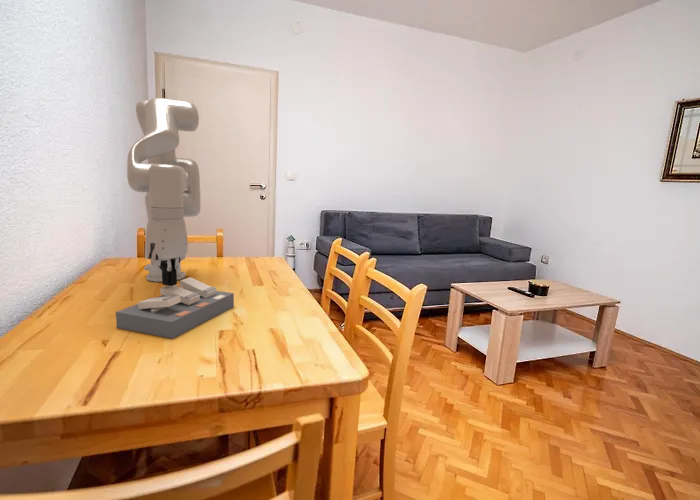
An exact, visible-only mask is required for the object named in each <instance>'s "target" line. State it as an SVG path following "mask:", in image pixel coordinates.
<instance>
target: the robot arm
mask: <svg viewBox="0 0 700 500" xmlns="http://www.w3.org/2000/svg"><path fill="white" fill-rule="evenodd" d="M135 113H136V118H137V121H138V123H139V124H138V125H139V127H140V128H141V130H142V133H143V135H144V136H142V137H141V138H139V139H138V140H136V142H135V143H134V144H133V145H132V146H131V147H130V149H129V151H128V154H127V161H126V162H127V164H126V165H127V166H126V167H127V169H126V170H127V171H126V176H127V183H128V185H129V187H130V188H131V189H132V190H133V191H135V192H138V193H146V194H145V196H144V203H145V204H144V205H145V209H146V213H147V219H148V220H147V225H146V231H145V248H144V249H145V251H144V252H145V258H146V259H148V260H150V263H148V264H146V265H145V266H144V267H143V270H144V271H148V273H147V275H146V280H147V281H150V282H155V283H162V284H161V285H163V286H173V285H176V286H177V284H178V281H181V280H183V279H186V273H185V272H184V271H182V270H181V269H182V266H181V265H182V264H181V263H182V261H183V260H185V259H186V255H187V253H188V233H187V232H188V231H187V226H186V223H185V218H189V217H190V218H191V217H192V218H193V217H198V215H199V214H200V211H201V185H200V181H201V180H200V179H201V178H200V169H199V165H198V163H197V162H196V161H195V160H193V159H191V158H183V157H177V156H176V149H177V148H178V147H179V143H180V138H179V137H180V135H179V131H181V132H196V131H197V129H198V127H199V123H200V118H199V116H200V115H199V111H198V109H197V106H196V105H195V104H194V103H193V102H190V101H186V100H178V99H173V98H172V99H171V98H165V97H153V98H150V99H142V100H139V101H138V102H137V103H136V106H135ZM144 161H147V162H144Z"/></svg>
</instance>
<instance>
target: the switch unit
mask: <svg viewBox="0 0 700 500" xmlns="http://www.w3.org/2000/svg"><path fill="white" fill-rule="evenodd" d="M182 288H183V287H182ZM183 289H185V288H183ZM186 290H187V289H186ZM188 291H190V290H188ZM191 292H192V291H191ZM234 296H235V293H234V292H227V291H221V290H216V294H215V295H213V296H211V297H208V298H204V297H202V296H200V299H199V301H197V302H195V303H193V304H190V305H187V304H185V303H182V302H179V303H177V304H174V305H172V306H169V307H159V308H146V309H139V307H138V303H137V304H134V305H131V306H128V307H125V308H123V309H120V310H117V311H115V318H116V319H115V320H116V329H120V330H121V329H122V330H127V331H131V332H135V333H141V334H147V335H151V336H152V335H153V336H157V337H162V338H167V339H172V340H173V339H175V338H177V337H179V336H180V335H182V334H184V333H186V332H188V331H191V330H192V329H194V328H196V327H197V326H200V325H202V324H205V322H208V321H209V320H211V319H213V318H215V317H216V316H218V315H221V314H222V313H225V312H227V311H228V310H230V309H232V308H234V306H235V301H234V299H235V297H234ZM158 297H167V296H165V295H162V294H160V295H159V296H158Z"/></svg>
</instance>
